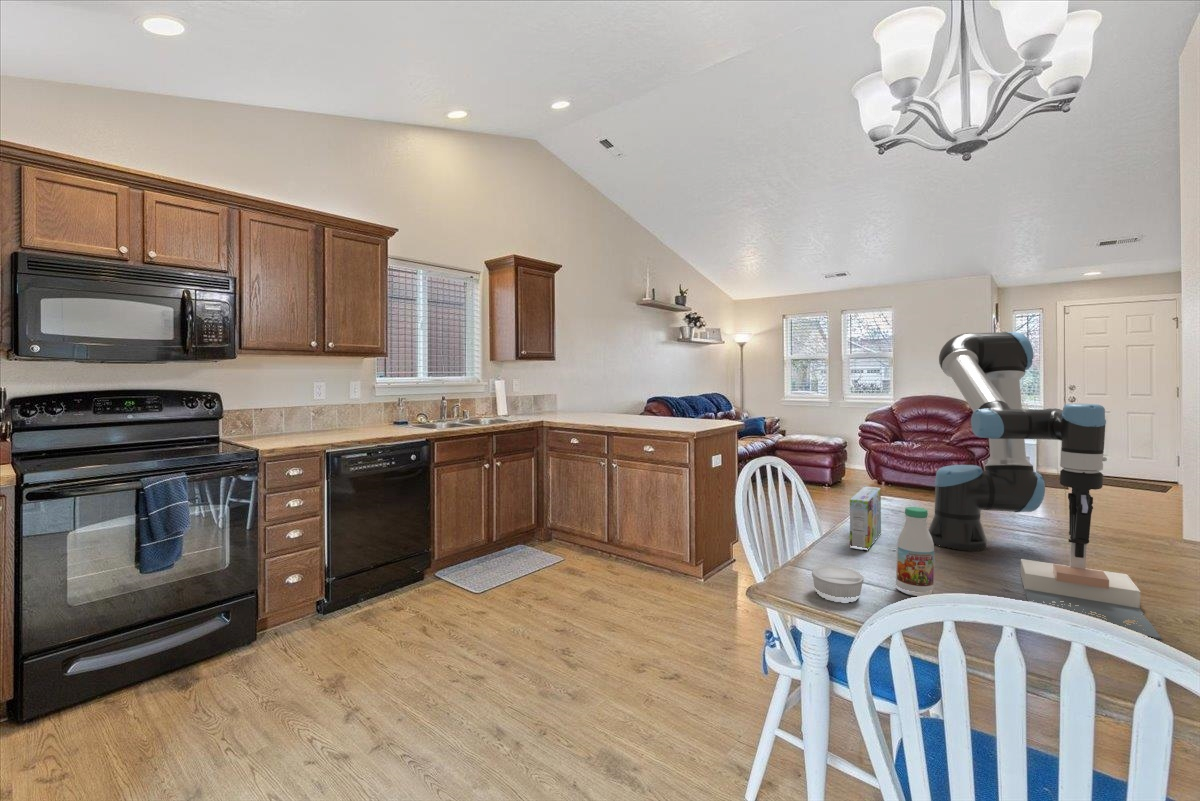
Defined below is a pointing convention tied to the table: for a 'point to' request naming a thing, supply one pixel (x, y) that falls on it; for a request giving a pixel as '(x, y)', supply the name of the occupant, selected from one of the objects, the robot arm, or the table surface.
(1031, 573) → the plate
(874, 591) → the table surface
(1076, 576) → the tile
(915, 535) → the milk bottle
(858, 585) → the ramekin
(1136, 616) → the mat
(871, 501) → the snack box
